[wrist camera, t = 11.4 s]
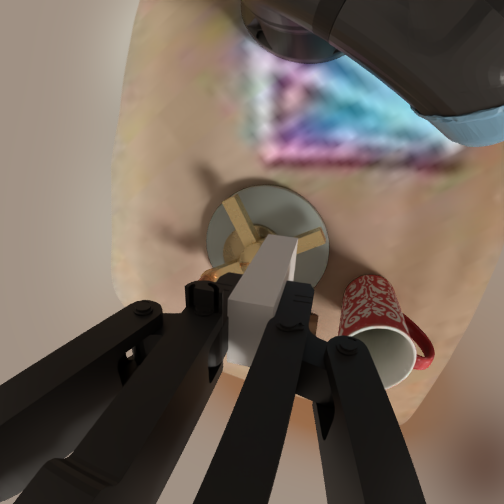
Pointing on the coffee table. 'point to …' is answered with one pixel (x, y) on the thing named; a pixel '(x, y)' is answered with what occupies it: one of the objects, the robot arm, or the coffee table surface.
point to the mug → (383, 329)
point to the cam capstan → (251, 241)
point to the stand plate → (274, 227)
